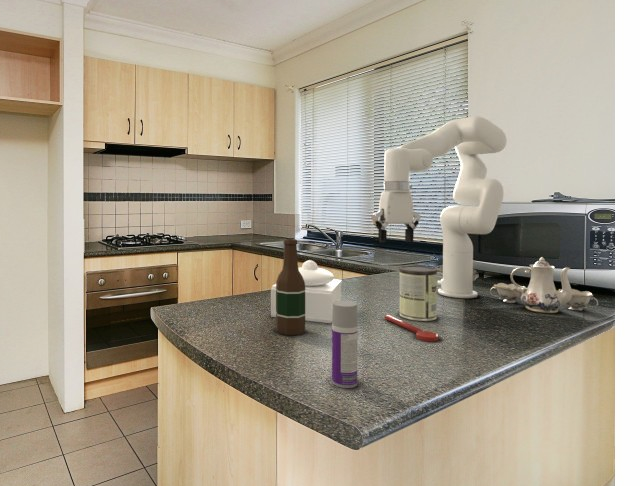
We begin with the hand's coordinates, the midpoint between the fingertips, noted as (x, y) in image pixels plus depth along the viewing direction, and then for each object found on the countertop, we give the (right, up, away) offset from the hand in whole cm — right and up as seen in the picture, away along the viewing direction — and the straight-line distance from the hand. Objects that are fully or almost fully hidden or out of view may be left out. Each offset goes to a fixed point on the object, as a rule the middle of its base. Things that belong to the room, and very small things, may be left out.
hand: (396, 242), depth 137 cm
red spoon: (-5, -21, -22) cm, 31 cm away
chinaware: (+46, -21, 0) cm, 50 cm away
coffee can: (+3, -21, -10) cm, 23 cm away
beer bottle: (-36, -21, -24) cm, 48 cm away
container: (-29, -22, -55) cm, 66 cm away
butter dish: (-29, -21, -5) cm, 36 cm away
